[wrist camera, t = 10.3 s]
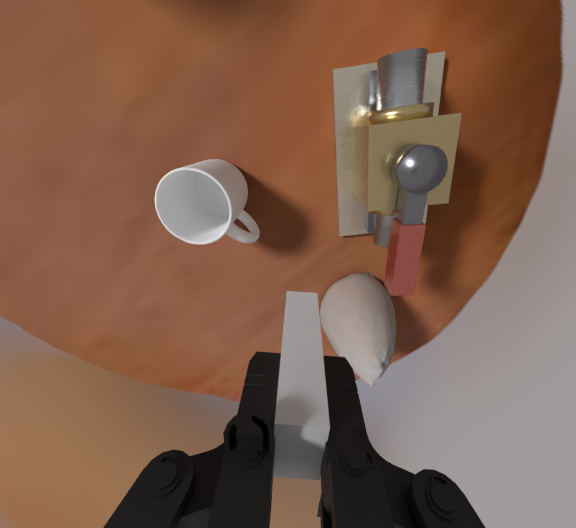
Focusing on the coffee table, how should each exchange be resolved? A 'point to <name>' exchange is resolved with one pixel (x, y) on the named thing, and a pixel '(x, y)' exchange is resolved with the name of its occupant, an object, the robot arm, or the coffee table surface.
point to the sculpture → (360, 324)
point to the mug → (205, 203)
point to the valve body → (386, 135)
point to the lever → (411, 212)
